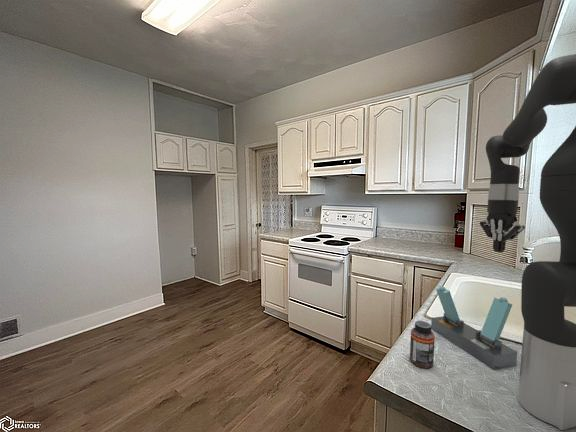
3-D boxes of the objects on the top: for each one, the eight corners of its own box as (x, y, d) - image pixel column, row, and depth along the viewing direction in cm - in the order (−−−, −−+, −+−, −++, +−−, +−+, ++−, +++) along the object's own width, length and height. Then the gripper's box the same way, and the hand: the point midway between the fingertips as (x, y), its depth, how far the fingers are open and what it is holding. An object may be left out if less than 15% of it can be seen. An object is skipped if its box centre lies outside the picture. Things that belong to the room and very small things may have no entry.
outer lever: (461, 323, 85) (449, 287, 83) (456, 326, 85) (444, 290, 82) (451, 317, 89) (439, 283, 87) (446, 320, 89) (434, 286, 86)
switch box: (516, 365, 72) (517, 344, 71) (493, 369, 70) (495, 347, 69) (449, 326, 93) (450, 309, 92) (431, 328, 91) (432, 311, 91)
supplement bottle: (412, 353, 77) (414, 316, 76) (435, 361, 73) (437, 323, 72) (407, 363, 72) (409, 324, 71) (430, 372, 68) (433, 331, 68)
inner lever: (496, 346, 73) (514, 301, 74) (491, 345, 73) (509, 299, 73) (483, 339, 77) (499, 296, 77) (478, 337, 77) (495, 294, 77)
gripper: (474, 198, 88) (470, 248, 89) (516, 199, 75) (511, 257, 76) (491, 198, 90) (487, 247, 91) (535, 199, 77) (530, 256, 78)
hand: (498, 251), depth 84 cm, fingers closed
